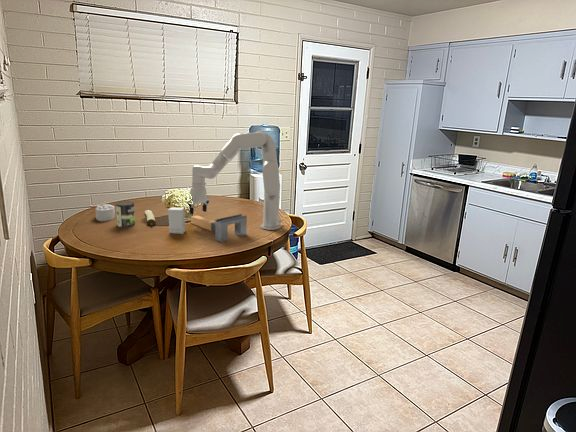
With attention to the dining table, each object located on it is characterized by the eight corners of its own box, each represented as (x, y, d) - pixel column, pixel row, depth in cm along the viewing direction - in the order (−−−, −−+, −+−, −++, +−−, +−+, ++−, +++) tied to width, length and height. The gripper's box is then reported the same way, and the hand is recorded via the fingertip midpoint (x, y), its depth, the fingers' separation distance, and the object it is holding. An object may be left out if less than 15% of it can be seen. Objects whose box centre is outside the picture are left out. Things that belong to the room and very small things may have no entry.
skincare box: (185, 231, 234) (185, 207, 230) (183, 234, 228) (182, 209, 224) (171, 230, 234) (170, 206, 230) (168, 234, 228) (167, 209, 224)
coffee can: (138, 224, 243) (137, 202, 239) (129, 229, 233) (127, 205, 229) (123, 222, 245) (122, 200, 241) (113, 227, 235) (111, 204, 231)
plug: (197, 223, 251) (197, 214, 249) (224, 233, 235) (224, 223, 233) (190, 225, 247) (190, 215, 246) (217, 234, 231) (217, 225, 229)
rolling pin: (156, 228, 237) (156, 220, 236) (146, 229, 235) (146, 221, 234) (153, 214, 266) (152, 207, 264) (144, 215, 264) (144, 208, 262)
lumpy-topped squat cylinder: (116, 216, 258) (115, 203, 256) (111, 221, 246) (110, 208, 243) (99, 215, 256) (98, 203, 254) (93, 221, 244) (92, 208, 242)
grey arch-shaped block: (240, 233, 236) (240, 213, 233) (246, 235, 233) (246, 215, 230) (215, 239, 222) (215, 219, 219) (221, 242, 219) (221, 221, 216)
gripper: (206, 183, 248) (205, 209, 252) (182, 185, 235) (182, 213, 239) (213, 185, 243) (213, 211, 248) (190, 187, 230) (190, 215, 235)
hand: (198, 212), depth 244 cm, fingers open, 9 cm apart
